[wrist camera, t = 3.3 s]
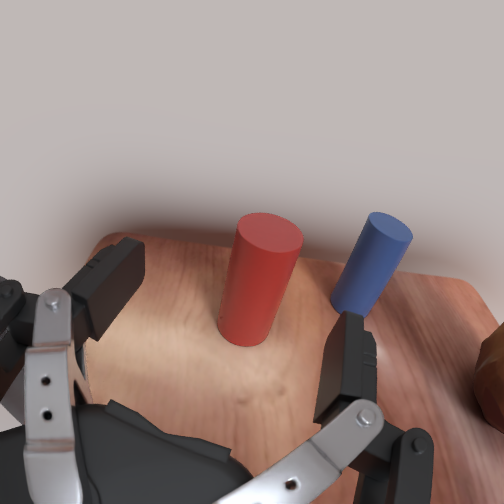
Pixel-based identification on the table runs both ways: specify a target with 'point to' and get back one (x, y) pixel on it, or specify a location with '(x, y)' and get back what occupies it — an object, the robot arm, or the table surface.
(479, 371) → the butternut squash
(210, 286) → the table surface
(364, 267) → the blue tin
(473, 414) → the table surface
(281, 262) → the red tin
